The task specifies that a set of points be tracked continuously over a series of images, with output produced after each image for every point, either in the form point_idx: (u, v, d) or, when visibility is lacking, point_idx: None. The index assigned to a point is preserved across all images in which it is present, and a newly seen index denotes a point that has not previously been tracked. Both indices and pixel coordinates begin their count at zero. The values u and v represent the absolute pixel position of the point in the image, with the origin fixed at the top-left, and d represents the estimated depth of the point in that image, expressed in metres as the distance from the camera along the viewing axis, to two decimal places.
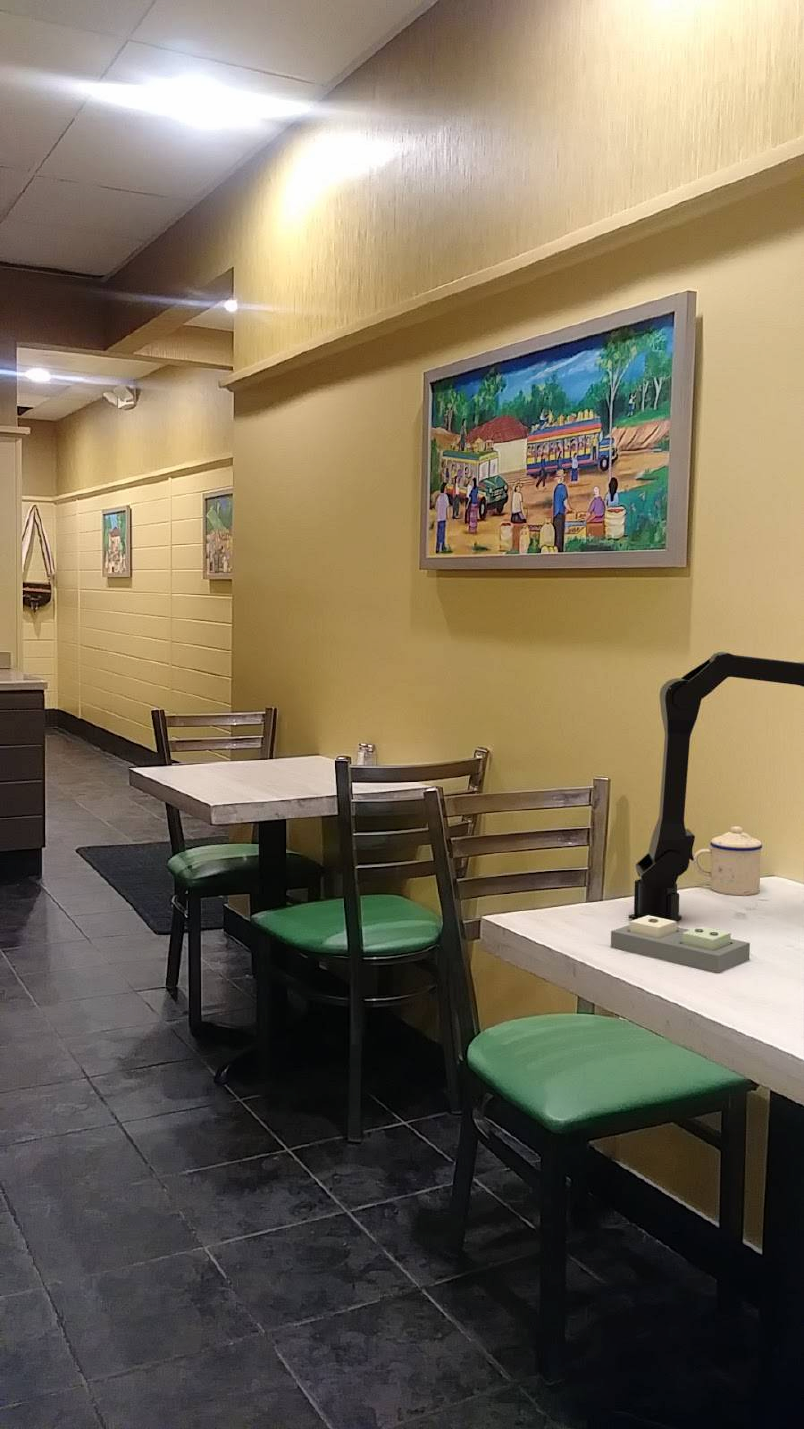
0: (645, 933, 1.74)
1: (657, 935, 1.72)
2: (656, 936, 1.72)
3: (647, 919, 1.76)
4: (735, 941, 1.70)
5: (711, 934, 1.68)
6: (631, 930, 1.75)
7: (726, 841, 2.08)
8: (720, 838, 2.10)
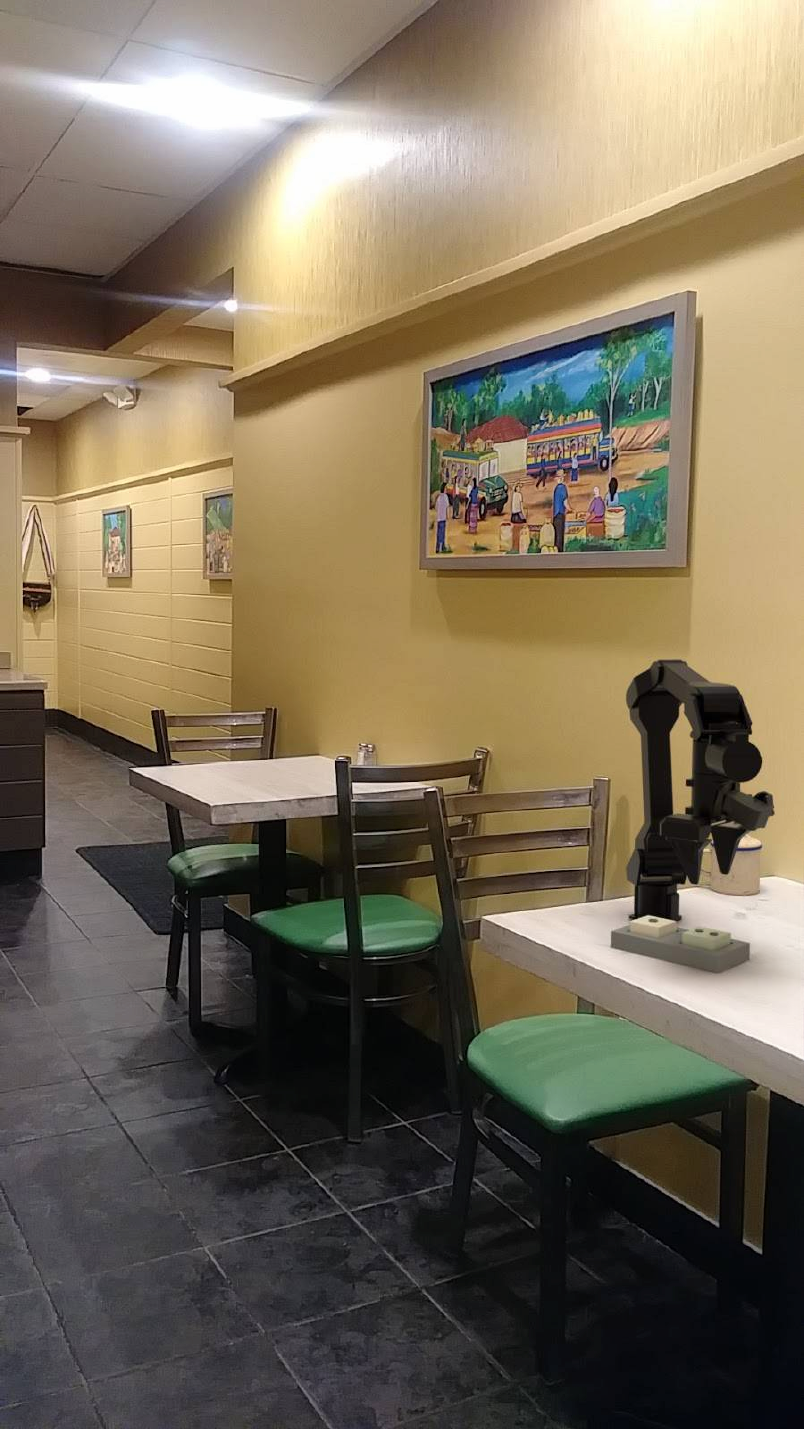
0: (645, 933, 1.74)
1: (657, 935, 1.72)
2: (656, 936, 1.72)
3: (647, 919, 1.76)
4: (735, 941, 1.70)
5: (711, 934, 1.68)
6: (631, 930, 1.75)
7: None
8: None
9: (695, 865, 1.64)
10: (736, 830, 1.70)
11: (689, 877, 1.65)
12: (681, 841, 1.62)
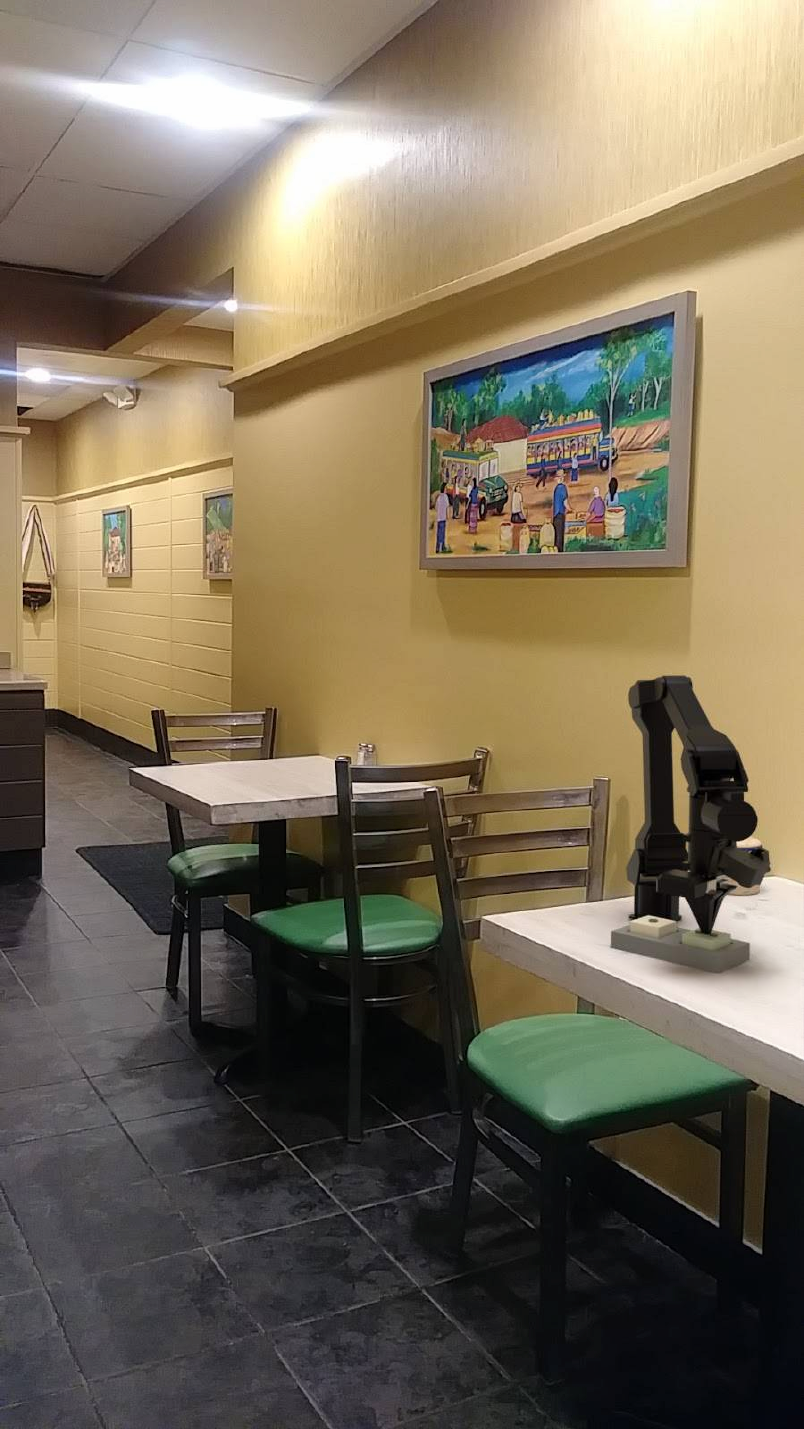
0: (645, 933, 1.74)
1: (657, 935, 1.72)
2: (656, 936, 1.72)
3: (647, 919, 1.76)
4: (735, 941, 1.70)
5: (711, 935, 1.68)
6: (631, 930, 1.75)
7: None
8: None
9: (706, 916, 1.67)
10: (718, 889, 1.68)
11: (700, 927, 1.69)
12: None
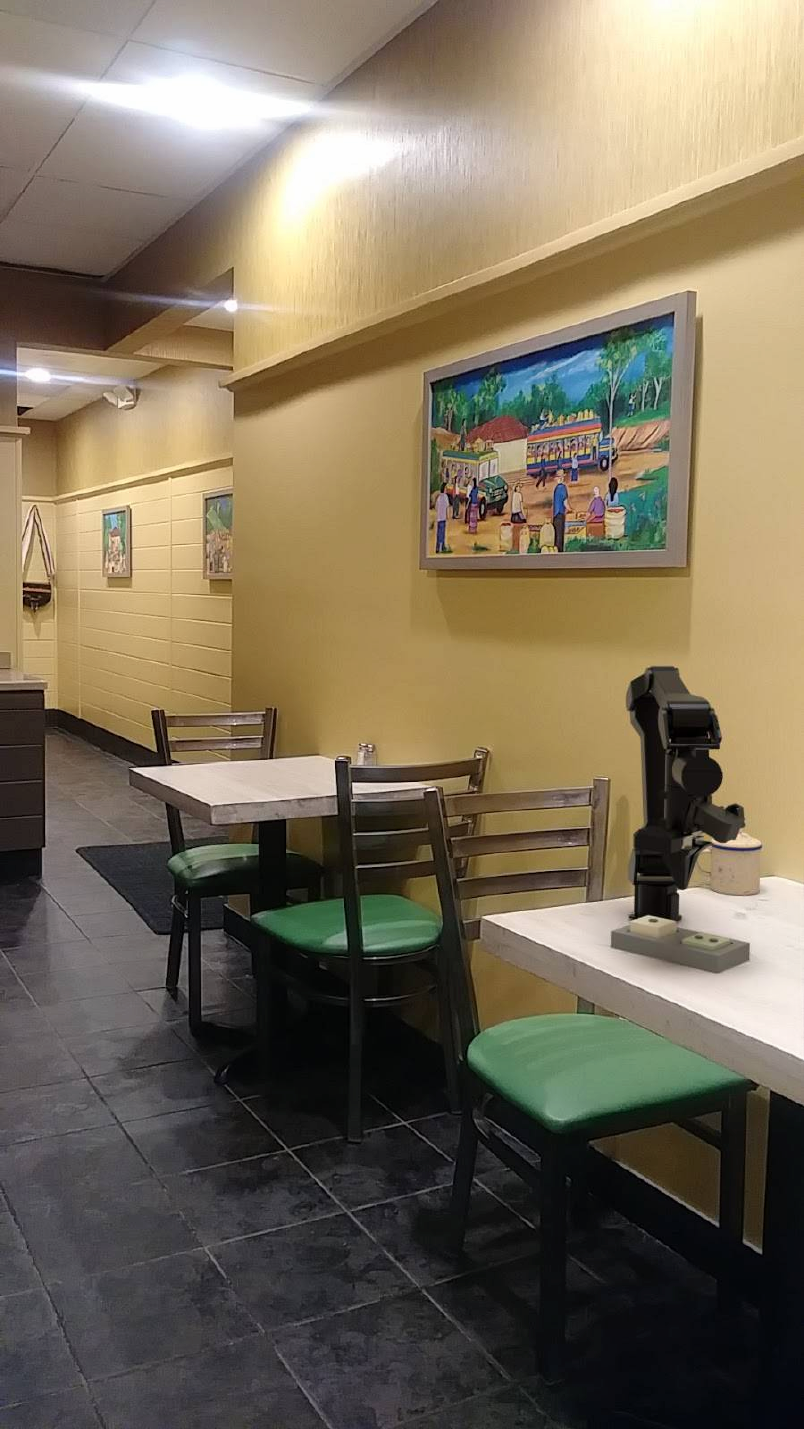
0: (645, 933, 1.74)
1: (657, 935, 1.72)
2: (656, 936, 1.72)
3: (647, 919, 1.76)
4: (735, 941, 1.70)
5: (711, 941, 1.68)
6: (631, 930, 1.75)
7: None
8: None
9: (682, 871, 1.70)
10: (694, 845, 1.71)
11: (676, 883, 1.72)
12: None
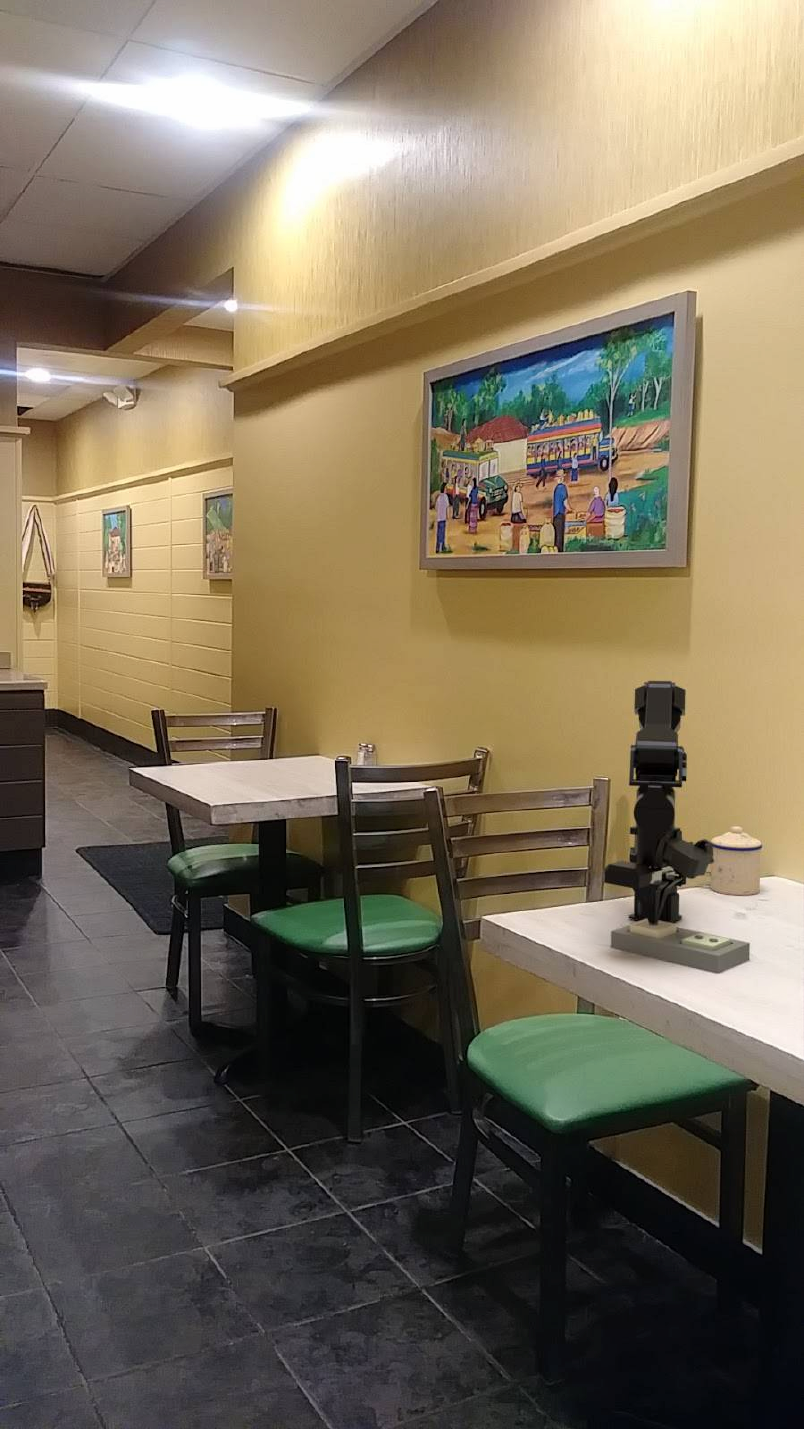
0: None
1: None
2: None
3: (647, 922, 1.76)
4: (735, 941, 1.70)
5: (711, 941, 1.68)
6: None
7: (726, 841, 2.09)
8: (720, 838, 2.10)
9: (653, 905, 1.74)
10: (665, 880, 1.74)
11: (647, 916, 1.75)
12: None
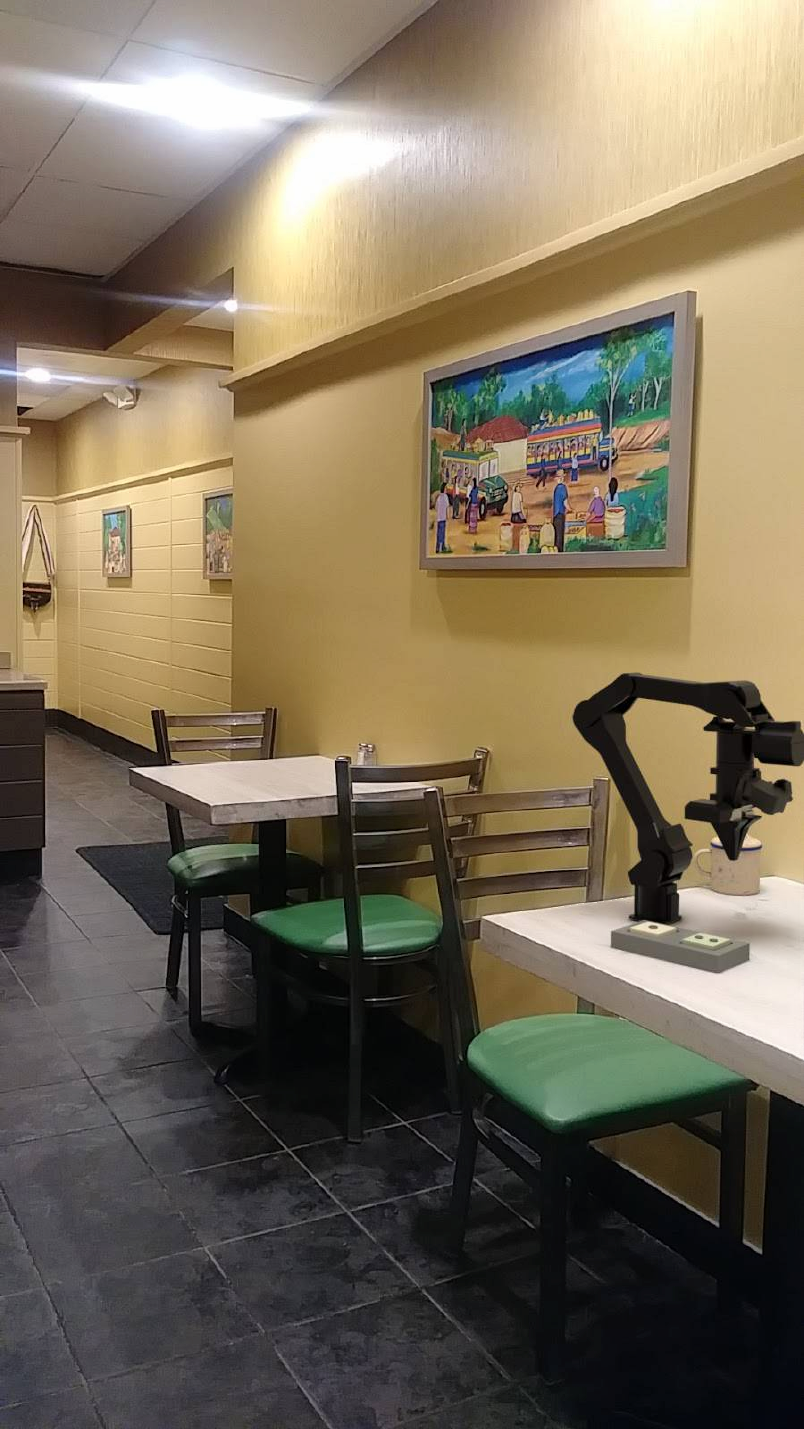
0: None
1: None
2: None
3: (647, 925, 1.77)
4: (735, 941, 1.70)
5: (711, 941, 1.68)
6: None
7: None
8: None
9: (733, 843, 1.80)
10: (744, 818, 1.81)
11: (727, 854, 1.82)
12: None
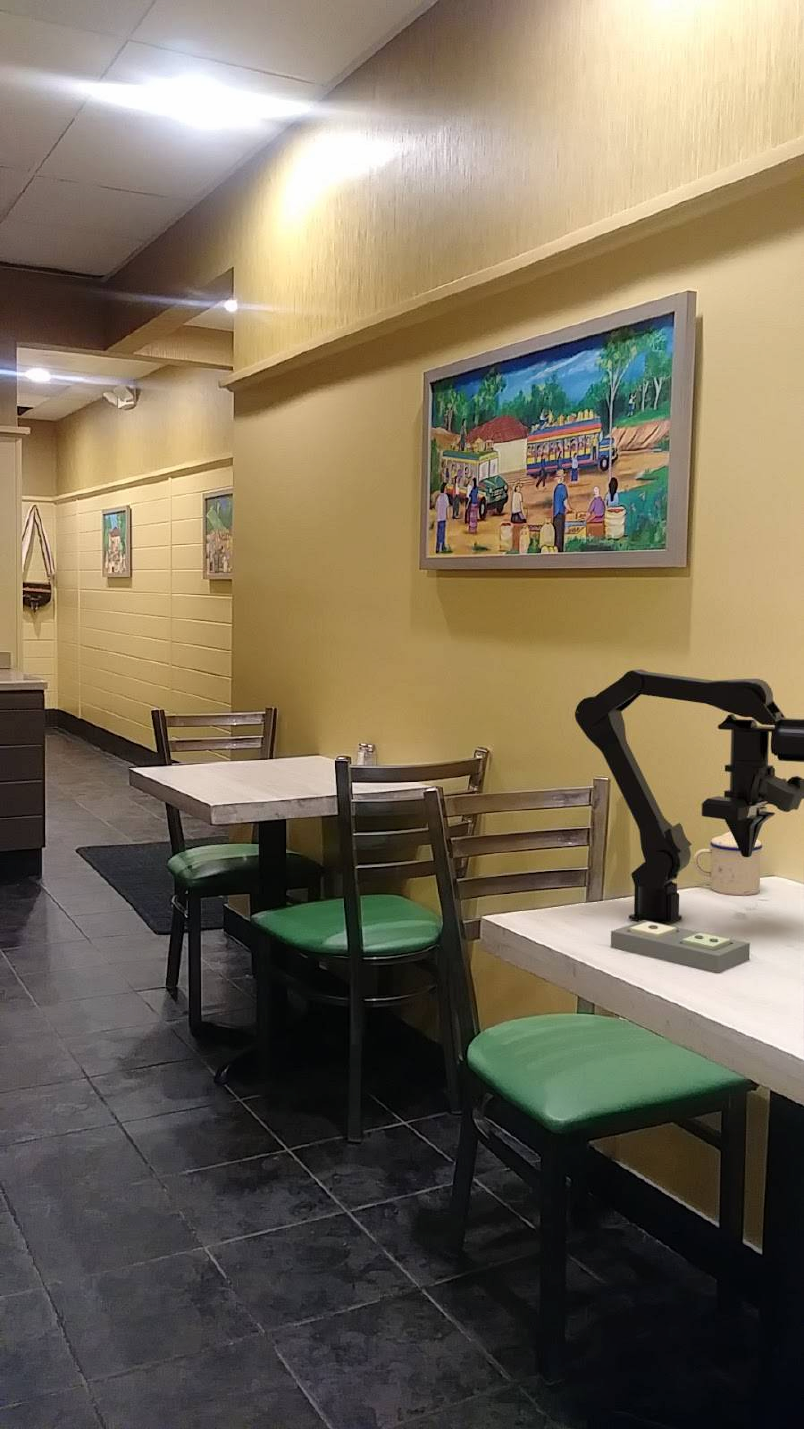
0: None
1: None
2: None
3: (647, 925, 1.77)
4: (735, 941, 1.70)
5: (711, 941, 1.68)
6: None
7: (726, 841, 2.08)
8: (720, 838, 2.10)
9: (747, 839, 1.82)
10: (758, 815, 1.82)
11: (741, 850, 1.83)
12: None
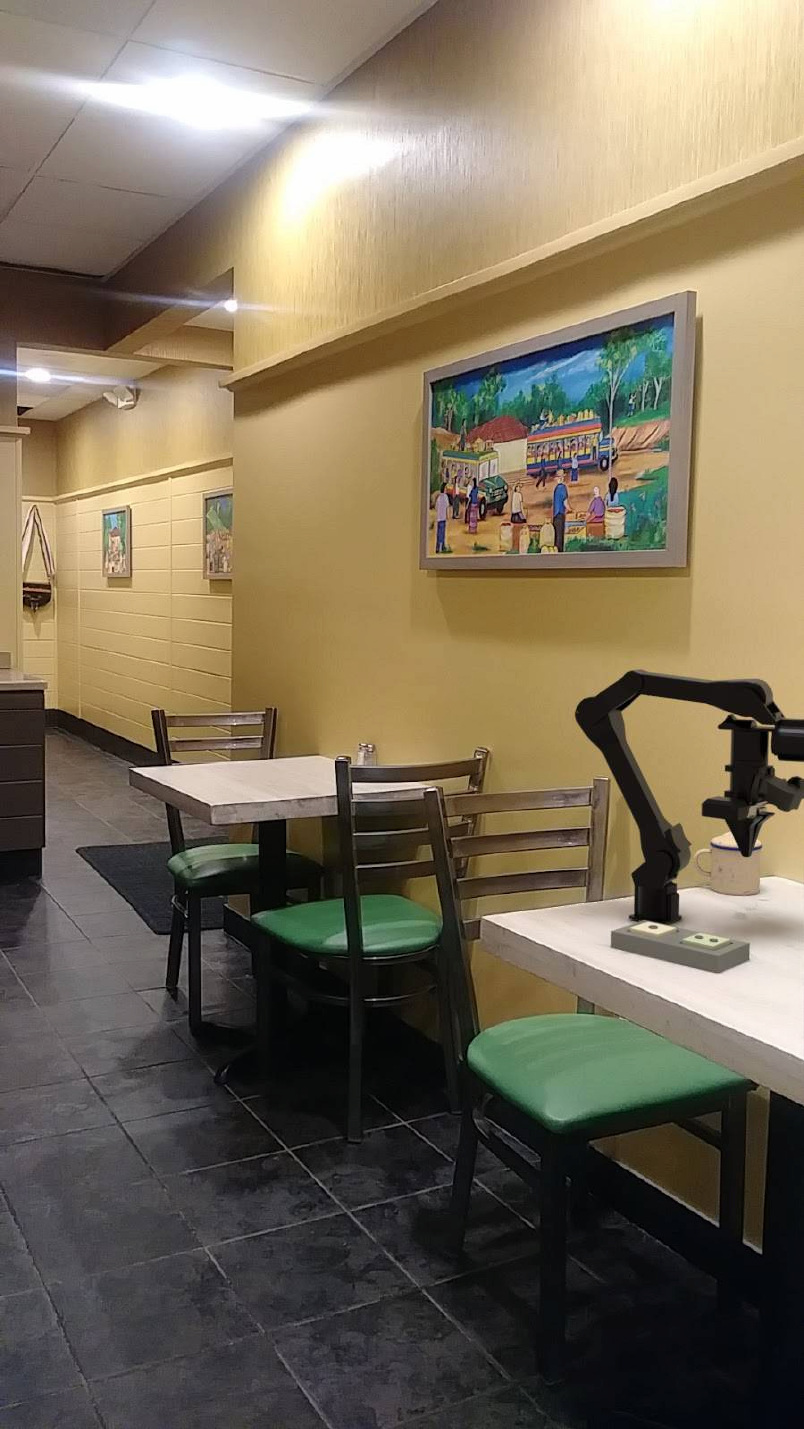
0: None
1: None
2: None
3: (647, 925, 1.77)
4: (735, 941, 1.70)
5: (711, 941, 1.68)
6: None
7: (726, 841, 2.08)
8: (720, 838, 2.10)
9: (747, 839, 1.82)
10: (758, 815, 1.82)
11: (741, 850, 1.83)
12: None
